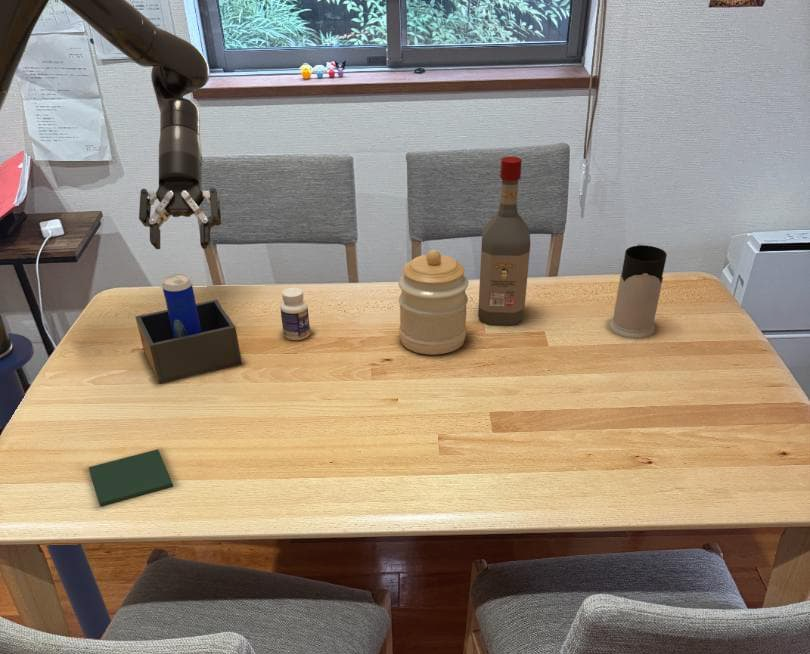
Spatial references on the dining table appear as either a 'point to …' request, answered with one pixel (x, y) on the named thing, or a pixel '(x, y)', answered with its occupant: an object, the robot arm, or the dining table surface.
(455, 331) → the jar
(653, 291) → the glass holder
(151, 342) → the dark grey open box
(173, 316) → the beverage can
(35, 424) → the dining table surface
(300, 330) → the pill bottle
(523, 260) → the liquor
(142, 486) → the mat
